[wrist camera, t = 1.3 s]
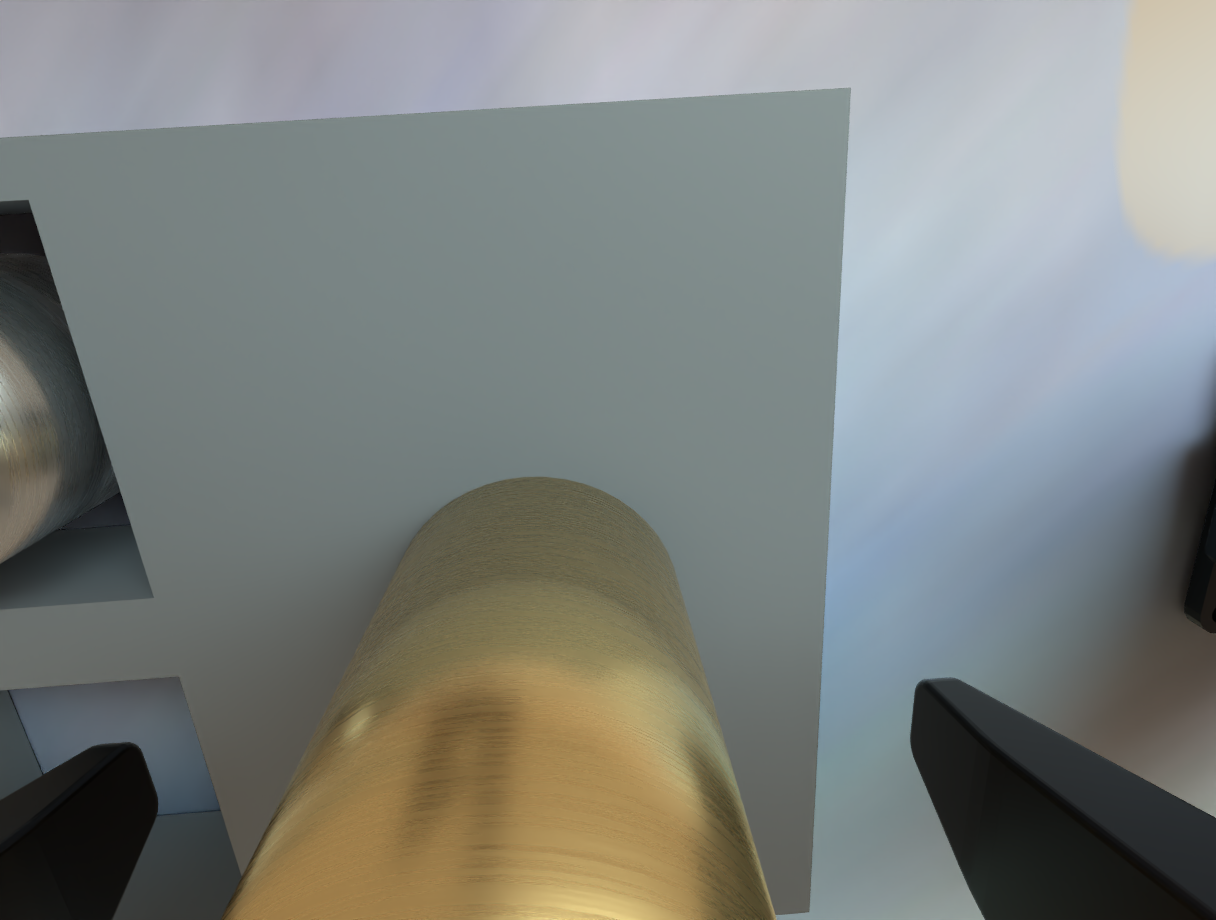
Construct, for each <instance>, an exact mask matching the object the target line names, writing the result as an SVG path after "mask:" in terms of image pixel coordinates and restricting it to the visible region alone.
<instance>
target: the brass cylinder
mask: <svg viewBox="0 0 1216 920" xmlns="http://www.w3.org/2000/svg"><path fill="white" fill-rule="evenodd" d="M220 920H777V919H776V916H775V913H774V909H773V906H772V902H771V899H770V895H769V892H768V888H767V885H766V882H765V878H764V875H763V871H762V868H761V864H760V861H759V858H758V854H757V851H756V847H755V844H754V840H753V837H752V833H751V830H750V827H749V823H748V820H747V816H746V813H745V809H744V806H743V803H742V799H741V796H740V792H739V789H738V785H737V782H736V779H735V775H734V772H733V768H732V765H731V761H730V758H729V754H728V751H727V748H726V744H725V741H724V737H723V734H722V730H721V727H720V724H719V720H718V717H717V713H716V710H715V706H714V703H713V700H712V696H711V693H710V689H709V686H708V682H707V679H706V675H705V672H704V669H703V665H702V662H701V658H700V655H699V651H698V648H697V645H696V641H695V638H694V634H693V631H692V627H691V624H690V620H689V617H688V614H687V610H686V607H685V603H684V600H683V596H682V593H681V590H680V586H679V583H678V579H677V576H676V572H675V569H674V566H673V563H672V561H671V559H670V556H669V554H668V552H667V550H666V548H665V546H664V545H663V543H662V541H661V540H660V538H659V536H658V535H657V534H656V533H655V531H654V530H653V529H652V528H651V527H650V525H649V524H648V523H647V522H646V521H645V520H644V519H643V518H642V517H641V516H640V515H639V514H637V513H636V512H635V511H634V510H633V509H632V508H630V507H629V506H627V505H626V504H625V503H623V502H622V501H620V500H619V499H617V498H615V497H613V496H611V495H609V494H608V493H606V492H604V491H602V490H599V489H597V488H594V487H591V486H589V485H586V484H583V483H579V482H575V481H571V480H567V479H560V478H551V477H520V478H513V479H505V480H501V481H497V482H494V483H490V484H486V485H483V486H481V487H478V488H476V489H473V490H471V491H469V492H466V493H465V494H463V495H461V496H459V497H458V498H456V499H454V500H452V501H451V502H449V503H448V504H447V505H445V506H444V507H443V508H441V509H440V510H439V511H437V512H436V513H435V514H434V515H433V516H432V517H431V518H430V519H429V520H428V521H427V522H426V523H425V524H424V525H423V526H422V528H421V529H420V530H419V532H418V533H417V534H416V536H415V537H414V538H413V540H412V541H411V543H410V545H409V547H408V549H407V550H406V552H405V554H404V556H403V558H402V560H401V562H400V564H399V566H398V568H397V570H396V572H395V574H394V576H393V578H392V580H391V582H390V584H389V586H388V588H387V590H386V592H385V594H384V596H383V598H382V600H381V602H380V604H379V606H378V608H377V610H376V612H375V614H374V616H373V618H372V620H371V622H370V624H369V626H368V628H367V630H366V631H365V633H364V635H363V637H362V639H361V641H360V643H359V645H358V647H357V649H356V651H355V653H354V655H353V657H352V659H351V661H350V663H349V665H348V667H347V669H346V671H345V673H344V675H343V677H342V679H341V681H340V683H339V685H338V687H337V689H336V691H335V693H334V695H333V697H332V699H331V701H330V703H329V705H328V707H327V709H326V711H325V713H324V715H323V717H322V719H321V721H320V723H319V725H318V727H317V729H316V731H315V733H314V735H313V737H312V739H311V741H310V743H309V745H308V747H307V749H306V751H305V753H304V755H303V757H302V759H301V761H300V763H299V764H298V766H297V768H296V770H295V772H294V774H293V776H292V778H291V780H290V782H289V784H288V786H287V788H286V790H285V792H284V794H283V796H282V798H281V800H280V802H279V804H278V806H277V808H276V810H275V812H274V814H273V816H272V818H271V820H270V822H269V824H268V826H267V828H266V830H265V832H264V834H263V836H262V838H261V840H260V842H259V844H258V846H257V848H256V850H255V852H254V854H253V856H252V858H251V860H250V862H249V864H248V866H247V868H246V870H245V872H244V874H243V876H242V878H241V880H240V882H239V884H238V886H237V888H236V890H235V892H234V894H233V896H232V897H231V899H230V901H229V903H228V905H227V907H226V909H225V911H224V913H223V915H222V917H221V919H220Z"/></svg>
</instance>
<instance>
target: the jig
mask: <svg viewBox="0 0 1216 920" xmlns="http://www.w3.org/2000/svg"><path fill="white" fill-rule="evenodd" d="M850 93H851V88H838V89H821V90H804V91H787V92H770V93H753V94H736V95H719V96H702V97H685V98H668V99H651V100H634V101H617V102H600V103H583V104H567V105H550V106H533V107H516V108H499V109H482V110H465V111H448V112H431V113H414V114H397V115H380V116H363V117H346V118H329V119H312V120H295V121H278V122H261V123H244V124H227V125H210V126H193V127H177V128H160V129H143V130H126V131H109V132H92V133H75V134H58V135H41V136H24V137H7V138H0V215H3V214H20V213H33V215H34V219H35V222H36V225H37V228H38V231H39V234H40V238H41V241H42V244H43V247H44V250H45V253H46V257H47V260H48V263H49V266H50V269H51V273H52V276H53V279H54V282H55V285H56V288H57V292H58V295H59V298H60V301H61V304H62V307H63V311H64V314H65V317H66V320H67V323H68V327H69V330H70V333H71V336H72V339H73V342H74V346H75V349H76V352H77V355H78V358H79V361H80V365H81V368H82V371H83V374H84V377H85V381H86V384H87V387H88V390H89V393H90V396H91V400H92V403H93V406H94V409H95V412H96V415H97V419H98V422H99V425H100V428H101V431H102V435H103V438H104V441H105V444H106V447H107V450H108V454H109V457H110V460H111V463H112V466H113V469H114V473H115V476H116V479H117V482H118V485H119V488H120V492H121V495H122V498H123V501H124V504H125V508H126V511H127V514H128V517H129V520H130V523H131V525H126V526H113V527H99V528H85V529H71V530H58V531H54V532H52V533H51V534H49V535H47V536H46V537H44V538H42V539H41V540H39V541H37V542H36V543H34V544H32V545H31V546H29V547H27V548H26V549H24V550H22V551H21V552H19V553H17V554H16V555H14V556H12V557H11V558H9V559H7V560H6V561H4V562H2V563H1V564H0V800H1V799H3V798H4V797H6V796H8V795H9V794H11V793H13V792H15V791H16V790H18V789H20V788H21V787H23V786H25V785H27V784H28V783H30V782H32V781H33V780H35V779H37V778H39V777H40V776H42V772H41V770H40V768H39V765H38V763H37V760H36V758H35V756H34V753H33V751H32V748H31V746H30V744H29V741H28V739H27V736H26V734H25V731H24V729H23V727H22V724H21V722H20V719H19V717H18V715H17V712H16V710H15V707H14V705H13V703H12V700H11V698H10V695H9V693H8V691H7V690H12V689H25V688H38V687H51V686H64V685H76V684H89V683H102V682H115V681H128V680H141V679H153V678H166V677H179V679H180V682H181V685H182V689H183V692H184V695H185V698H186V701H187V704H188V708H189V711H190V714H191V717H192V720H193V723H194V727H195V730H196V733H197V736H198V739H199V743H200V746H201V749H202V752H203V755H204V758H205V762H206V765H207V768H208V771H209V774H210V777H211V781H212V784H213V787H214V790H215V793H216V797H217V800H218V803H219V806H220V809H221V811H211V812H199V813H187V814H174V815H162V816H156V820H155V823H154V825H153V827H152V830H151V832H150V834H149V837H148V839H147V841H146V844H145V846H144V848H143V851H142V853H141V855H140V858H139V860H138V862H137V864H136V867H135V869H134V871H133V874H132V876H131V878H130V881H129V883H128V885H127V888H126V890H125V892H124V895H123V897H122V899H121V902H120V904H119V906H118V909H117V911H116V913H115V916H114V918H113V920H220V919H221V917H222V915H223V913H224V911H225V909H226V907H227V905H228V903H229V901H230V899H231V897H232V896H233V894H234V892H235V890H236V888H237V886H238V884H239V882H240V880H241V878H242V876H243V874H244V872H245V870H246V868H247V866H248V864H249V862H250V860H251V858H252V856H253V854H254V852H255V850H256V848H257V846H258V844H259V842H260V840H261V838H262V836H263V834H264V832H265V830H266V828H267V826H268V824H269V822H270V820H271V818H272V816H273V814H274V812H275V810H276V808H277V806H278V804H279V802H280V800H281V798H282V796H283V794H284V792H285V790H286V788H287V786H288V784H289V782H290V780H291V778H292V776H293V774H294V772H295V770H296V768H297V766H298V764H299V763H300V761H301V759H302V757H303V755H304V753H305V751H306V749H307V747H308V745H309V743H310V741H311V739H312V737H313V735H314V733H315V731H316V729H317V727H318V725H319V723H320V721H321V719H322V717H323V715H324V713H325V711H326V709H327V707H328V705H329V703H330V701H331V699H332V697H333V695H334V693H335V691H336V689H337V687H338V685H339V683H340V681H341V679H342V677H343V675H344V673H345V671H346V669H347V667H348V665H349V663H350V661H351V659H352V657H353V655H354V653H355V651H356V649H357V647H358V645H359V643H360V641H361V639H362V637H363V635H364V633H365V631H366V630H367V628H368V626H369V624H370V622H371V620H372V618H373V616H374V614H375V612H376V610H377V608H378V606H379V604H380V602H381V600H382V598H383V596H384V594H385V592H386V590H387V588H388V586H389V584H390V582H391V580H392V578H393V576H394V574H395V572H396V570H397V568H398V566H399V564H400V562H401V560H402V558H403V556H404V554H405V552H406V550H407V549H408V547H409V545H410V543H411V541H412V540H413V538H414V537H415V536H416V534H417V533H418V532H419V530H420V529H421V528H422V526H423V525H424V524H425V523H426V522H427V521H428V520H429V519H430V518H431V517H432V516H433V515H434V514H435V513H436V512H437V511H439V510H440V509H441V508H443V507H444V506H445V505H447V504H448V503H449V502H451V501H452V500H454V499H456V498H458V497H459V496H461V495H463V494H465V493H466V492H469V491H471V490H473V489H476V488H478V487H481V486H483V485H486V484H490V483H494V482H497V481H501V480H505V479H513V478H520V477H551V478H560V479H567V480H571V481H575V482H579V483H583V484H586V485H589V486H591V487H594V488H597V489H599V490H602V491H604V492H606V493H608V494H609V495H611V496H613V497H615V498H617V499H619V500H620V501H622V502H623V503H625V504H626V505H627V506H629V507H630V508H632V509H633V510H634V511H635V512H636V513H637V514H639V515H640V516H641V517H642V518H643V519H644V520H645V521H646V522H647V523H648V524H649V525H650V527H651V528H652V529H653V530H654V531H655V533H656V534H657V535H658V536H659V538H660V540H661V541H662V543H663V545H664V546H665V548H666V550H667V552H668V554H669V556H670V559H671V561H672V563H673V566H674V569H675V572H676V576H677V579H678V583H679V586H680V590H681V593H682V596H683V600H684V603H685V607H686V610H687V614H688V617H689V620H690V624H691V627H692V631H693V634H694V638H695V641H696V645H697V648H698V651H699V655H700V658H701V662H702V665H703V669H704V672H705V675H706V679H707V682H708V686H709V689H710V693H711V696H712V700H713V703H714V706H715V710H716V713H717V717H718V720H719V724H720V727H721V730H722V734H723V737H724V741H725V744H726V748H727V751H728V754H729V758H730V761H731V765H732V768H733V772H734V775H735V779H736V782H737V785H738V789H739V792H740V796H741V799H742V803H743V806H744V809H745V813H746V816H747V820H748V823H749V827H750V830H751V833H752V837H753V840H754V844H755V847H756V851H757V854H758V858H759V861H760V864H761V868H762V871H763V875H764V878H765V882H766V885H767V888H768V892H769V895H770V899H771V902H772V906H773V909H774V913H775V915H782V914H793V913H805V912H809V907H810V887H811V867H812V847H813V827H814V808H815V788H816V768H817V748H818V728H819V708H820V689H821V669H822V649H823V629H824V609H825V589H826V570H827V550H828V530H829V510H830V490H831V470H832V451H833V431H834V411H835V391H836V371H837V351H838V332H839V312H840V292H841V272H842V252H843V232H844V213H845V193H846V173H847V153H848V133H849V113H850Z"/></svg>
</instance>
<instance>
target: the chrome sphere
mask: <svg viewBox="0 0 1216 920" xmlns="http://www.w3.org/2000/svg"><path fill="white" fill-rule="evenodd" d="M119 492H120V488H119V485H118V482H117V479H116V476H115V473H114V469H113V466H112V463H111V460H110V457H109V454H108V450H107V447H106V444H105V441H104V438H103V435H102V431H101V428H100V425H99V422H98V419H97V415H96V412H95V409H94V406H93V403H92V400H91V396H90V393H89V390H88V387H87V384H86V381H85V377H84V374H83V371H82V368H81V365H80V361H79V358H78V355H77V352H76V349H75V346H74V342H73V339H72V336H71V333H70V330H69V327H68V323H67V320H66V317H65V314H64V311H63V307H62V304H61V301H60V298H59V295H58V292H57V288H56V285H55V282H54V279H53V276H52V273H51V269H50V266H49V263H48V260H47V257H44V256H39V255H31V254H20V253H5V254H0V564H1V563H2V562H4V561H6V560H7V559H9V558H11V557H12V556H14V555H16V554H17V553H19V552H21V551H22V550H24V549H26V548H27V547H29V546H31V545H32V544H34V543H36V542H37V541H39V540H41V539H42V538H44V537H46V536H47V535H49V534H51V533H52V532H54V531H56V530H57V529H59V528H61V527H62V526H64V525H66V524H67V523H69V522H71V521H72V520H74V519H76V518H77V517H79V516H81V515H82V514H84V513H86V512H87V511H89V510H91V509H92V508H94V507H96V506H97V505H99V504H101V503H102V502H104V501H106V500H107V499H109V498H111V497H112V496H114V495H116V494H117V493H119Z"/></svg>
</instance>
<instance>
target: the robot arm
mask: <svg viewBox="0 0 1216 920" xmlns="http://www.w3.org/2000/svg"><path fill="white" fill-rule="evenodd" d="M1184 613H1185V614H1186V616H1187V618H1188V619H1189V620H1191V621H1192V622H1194V623H1195V624H1197V625H1198V626H1200V627H1202V628H1203V629H1205V630H1206V631H1208V632H1210V633H1216V479H1215V483H1214V487H1213V491H1212V495H1211V499H1210V503H1209V507H1208V511H1207V515H1206V520H1205V524H1204V528H1203V532H1202V536H1201V540H1200V544H1199V548H1198V552H1197V556H1196V560H1195V564H1194V568H1193V572H1192V576H1191V580H1190V584H1189V588H1188V592H1187V596H1186V601H1185V605H1184ZM910 742H911V749H912V753H913V757H914V759H915V762H916V764H917V767H918V769H919V772H920V774H921V776H922V779H923V781H924V783H925V786H926V788H927V791H928V793H929V795H930V798H931V800H932V803H933V805H934V807H935V810H936V812H937V814H938V817H939V819H940V822H941V824H942V826H943V829H944V831H945V834H946V836H947V838H948V841H949V843H950V845H951V848H952V850H953V853H954V855H955V857H956V860H957V862H958V865H959V867H960V869H961V871H962V874H963V876H964V878H965V880H966V883H967V885H968V887H969V889H970V891H971V893H972V895H973V897H974V899H975V901H976V903H977V905H978V907H979V909H980V911H981V913H982V915H983V917H984V918H985V920H1216V818H1215V817H1213V816H1211V815H1209V814H1208V813H1206V812H1204V811H1202V810H1200V809H1198V808H1196V807H1195V806H1193V805H1191V804H1189V803H1187V802H1185V801H1183V800H1182V799H1180V798H1178V797H1176V796H1174V795H1172V794H1170V793H1169V792H1167V791H1165V790H1163V789H1161V788H1159V787H1157V786H1156V785H1154V784H1152V783H1150V782H1148V781H1146V780H1144V779H1143V778H1141V777H1139V776H1137V775H1135V774H1133V773H1131V772H1130V771H1128V770H1126V769H1124V768H1122V767H1120V766H1118V765H1117V764H1115V763H1113V762H1111V761H1109V760H1107V759H1105V758H1104V757H1102V756H1100V755H1098V754H1096V753H1094V752H1092V751H1091V750H1089V749H1087V748H1085V747H1083V746H1081V745H1079V744H1078V743H1076V742H1074V741H1072V740H1070V739H1068V738H1066V737H1065V736H1063V735H1061V734H1059V733H1057V732H1055V731H1053V730H1052V729H1050V728H1048V727H1046V726H1044V725H1042V724H1040V723H1039V722H1037V721H1035V720H1033V719H1031V718H1029V717H1027V716H1026V715H1024V714H1022V713H1020V712H1018V711H1016V710H1014V709H1013V708H1011V707H1009V706H1007V705H1005V704H1003V703H1001V702H1000V701H998V700H996V699H994V698H992V697H990V696H988V695H987V694H985V693H983V692H981V691H979V690H977V689H975V688H974V687H972V686H970V685H968V684H966V683H964V682H962V681H960V680H958V679H956V678H937V679H925V680H922V681H920V682H919V683H918V684H917V686H916V689H915V695H914V704H913V714H912V724H911V733H910ZM157 812H158V797H157V793H156V790H155V787H154V785H153V782H152V779H151V776H150V773H149V770H148V768H147V765H146V762H145V759H144V756H143V753H142V751H141V749H140V748H139V747H138V746H137V745H136V744H134V743H130V742H122V743H109V744H100V745H96V746H92V747H90V748H88V749H87V750H85V751H83V752H81V753H80V754H78V755H76V756H75V757H73V758H71V759H69V760H68V761H66V762H64V763H63V764H61V765H59V766H57V767H56V768H54V769H52V770H51V771H49V772H47V773H45V774H44V775H42V776H40V777H39V778H37V779H35V780H33V781H32V782H30V783H28V784H27V785H25V786H23V787H21V788H20V789H18V790H16V791H15V792H13V793H11V794H9V795H8V796H6V797H4V798H3V799H1V800H0V920H113V918H114V916H115V913H116V911H117V909H118V906H119V904H120V902H121V899H122V897H123V895H124V892H125V890H126V888H127V885H128V883H129V881H130V878H131V876H132V874H133V871H134V869H135V867H136V864H137V862H138V860H139V858H140V855H141V853H142V851H143V848H144V846H145V844H146V841H147V839H148V837H149V834H150V832H151V830H152V827H153V825H154V823H155V820H156V816H157Z"/></svg>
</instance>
